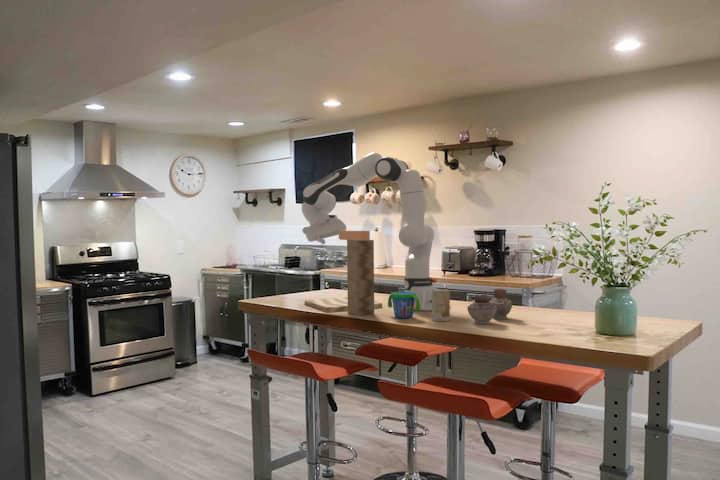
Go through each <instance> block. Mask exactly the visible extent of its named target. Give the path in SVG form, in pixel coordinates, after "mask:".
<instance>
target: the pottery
mask: <svg viewBox="0 0 720 480" xmlns="http://www.w3.org/2000/svg"><path fill="white" fill-rule="evenodd" d="M493 292H494V293H493V294H494V297H492V299H491V295H486V294H475V295H473V296H474V298H473V301H474V302H472V303H470V304H469V305H468V306H467V307H466V309H467V312H468V314H469V316H470V317H471V318H472V319H473V321H474V324H477V325H489V324H490V321H491V320H492V319H496V320H507V319H508V317H507V315H509V314H510V312H511V310H512V308H513V304H514V303H513V301H511V300H510V299H508V298H507V297H506V295H507V294H506V293H507V289H506V288H494V289H493Z"/></svg>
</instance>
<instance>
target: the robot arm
mask: <svg viewBox="0 0 720 480" xmlns="http://www.w3.org/2000/svg"><path fill="white" fill-rule="evenodd" d="M376 177H378V178H379V179H381V180H383V181H387V182H389V183H397V185H398V188H399V189H398V190H399V194H400V196H399V197H400V198H399V199H400V205H401V222H400V230H399V232H398V239H399V242H400V243H401V244H402V245H403V246H405V247H407V248H408V249H407V250H408V251H407V255H406V258H405V259H404V260H405V262H404V264H405V265H404V267H405V268H404V269H405V270H404V275H405V276H404V280H403V281H404V282H403V285H404V292H415V293H416V296H417V297H418V299H419V303H420V309H419V310H418V311H428V312H429V311H432V290H439V289H438V288H437V287H435V286H434V285H433V283H437V282H438V279H437V278H435V277H433V278H431V277H430V257H431V253H432V246H433V241H434V239H435V232H434V229H433V227H431V226H430V225H429V224H426V223H425V214H426V211H427V207H426V198H425V197H426V196H425V191H424V183H423V179H422V176H421V173H420V172H419V171H418V170H417V169H413V168H409V165H408V164H407V163H406V162H405V161H403V160H400V159H398V158H396V157H390V156H382V155H381V154H380V153H378V152H371V153H368V154H367V155H365V156H363V157H361V158H360V159H358V160H357V161H356V162H355V163H353V164H351V165H349V166H347V167H344V168H343V167H342V168H339V169H337V170H335V171H333V172H332V173H330V174H328V175H327V176H325V177H323V178H321V179H319V180H318V181H316V182H313V183H310V184H308V185H307V186H306V187H305V188H304V189H303V190H302V199H303V203H302V205H301V213H302V215H303V216H304V218H305V220H306V221H307V222H308V223H309V226H306V227H303V228H302V229H301V230H302V233H303V234H304V235H305V237H306V239H307V241H308V242H312V243H313V242H315V241H316V242H319V243H320V244H321V245H325V244H326V240H325V239H327V238H331V237H334V236H338V239H339V240H340V231H347V225H346V224H345V223H344V221H342V220H341V219H340V218H339V217H338V215H336V214H330V213H331V212H332V211H333V210H334V208H336V204H337V199H336V196H335V195H334V194H332V193H330V192H329V191H328V190H330V189H331V188H333V187H335V186H338V185H346V186H351V187H356V188H357V187H358V188H359V187H362V186H365V185H366V184H367V185H368V183H369V182H370V181H372V180H373V179H375V178H376ZM415 307H416V302H415V303H414V311H416V310H415Z"/></svg>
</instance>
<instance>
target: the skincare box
mask: <svg viewBox="0 0 720 480" xmlns="http://www.w3.org/2000/svg"><path fill="white" fill-rule="evenodd" d="M450 301H451V291H450V290H447V289H438V290H432V310H431V320H432V321H434V322H445V321H446V322H450V312H451V311H450V310H451V305H450V304H451V303H450Z"/></svg>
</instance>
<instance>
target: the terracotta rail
mask: <svg viewBox="0 0 720 480" xmlns="http://www.w3.org/2000/svg"><path fill="white" fill-rule="evenodd" d="M370 235H371V234H370V230H346V231H340V239H339V240H341V241H342V240H343V241H344V240H345V241H347V240H358V241H367V240H371V238H370V237H371V236H370Z"/></svg>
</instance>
